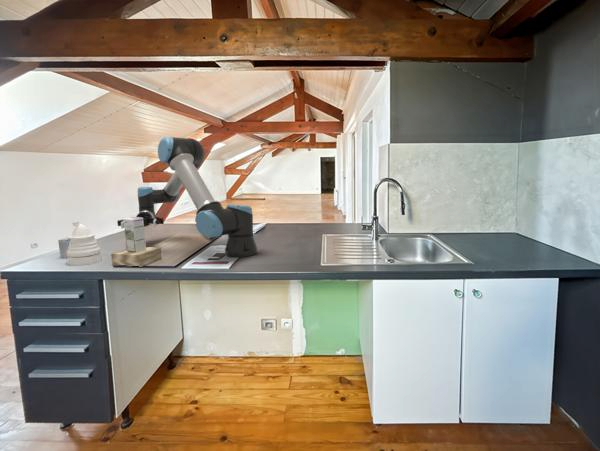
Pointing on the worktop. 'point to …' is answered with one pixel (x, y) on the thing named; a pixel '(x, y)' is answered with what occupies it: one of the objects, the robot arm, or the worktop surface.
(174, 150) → the robot arm
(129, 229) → the syrup box
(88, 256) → the honey pot
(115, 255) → the birch block
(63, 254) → the medicine box
